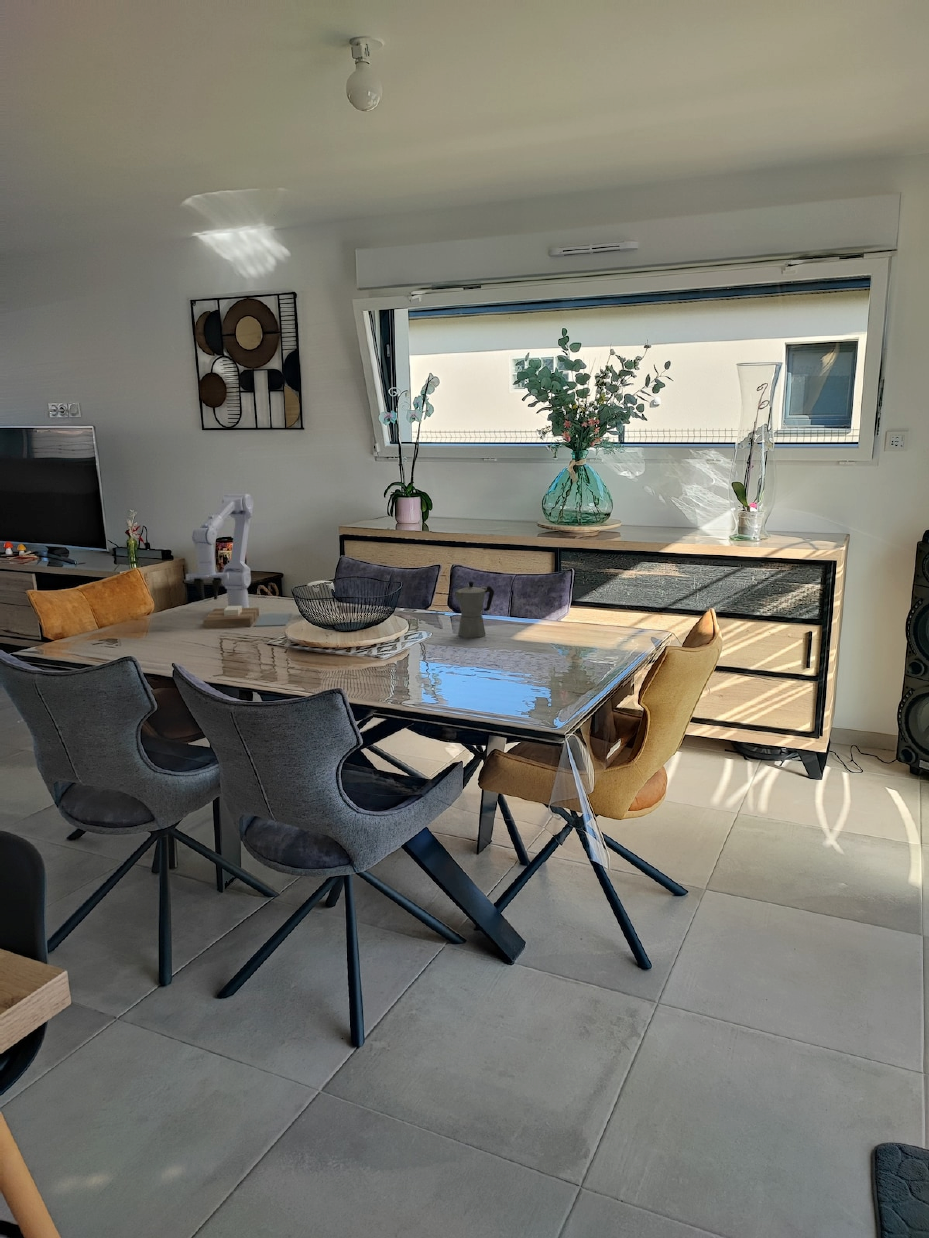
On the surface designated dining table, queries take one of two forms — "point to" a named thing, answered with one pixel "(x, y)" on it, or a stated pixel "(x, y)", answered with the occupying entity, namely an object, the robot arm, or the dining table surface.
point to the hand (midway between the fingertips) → (209, 599)
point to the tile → (232, 610)
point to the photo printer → (319, 583)
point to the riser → (231, 618)
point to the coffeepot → (473, 610)
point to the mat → (273, 619)
